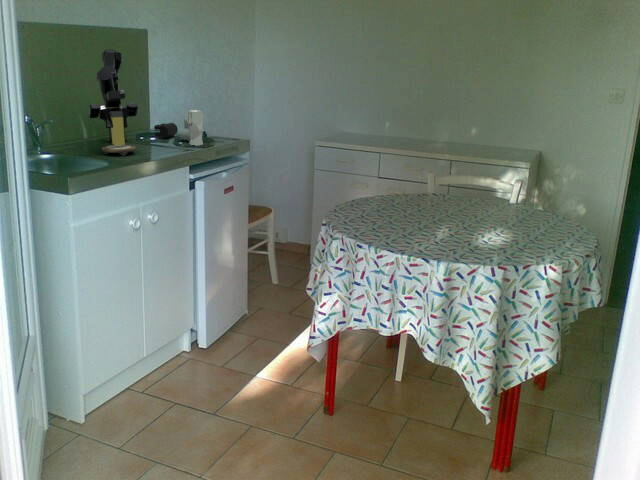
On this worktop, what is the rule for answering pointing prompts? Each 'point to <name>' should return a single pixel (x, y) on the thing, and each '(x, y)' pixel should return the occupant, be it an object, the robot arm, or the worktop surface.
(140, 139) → the worktop surface
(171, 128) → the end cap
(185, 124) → the air freshener
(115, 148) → the levelling base
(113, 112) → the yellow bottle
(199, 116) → the beer glass
